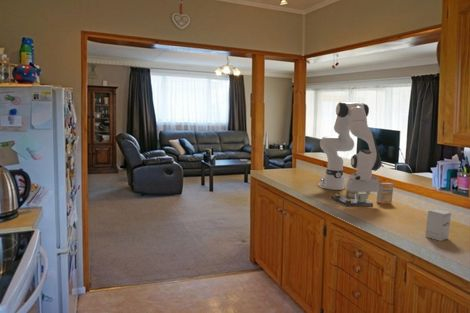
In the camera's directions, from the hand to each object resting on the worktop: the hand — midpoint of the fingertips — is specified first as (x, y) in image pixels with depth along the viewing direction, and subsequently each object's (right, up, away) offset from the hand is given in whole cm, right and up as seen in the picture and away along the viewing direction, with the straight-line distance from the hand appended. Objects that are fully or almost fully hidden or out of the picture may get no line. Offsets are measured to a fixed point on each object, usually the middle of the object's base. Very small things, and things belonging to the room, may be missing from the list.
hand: (361, 198), depth 240 cm
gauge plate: (-5, -3, +7) cm, 9 cm away
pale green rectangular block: (0, -2, 0) cm, 2 cm away
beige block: (-3, 0, +14) cm, 14 cm away
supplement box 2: (+15, -12, -60) cm, 63 cm away
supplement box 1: (+17, -4, +10) cm, 20 cm away
